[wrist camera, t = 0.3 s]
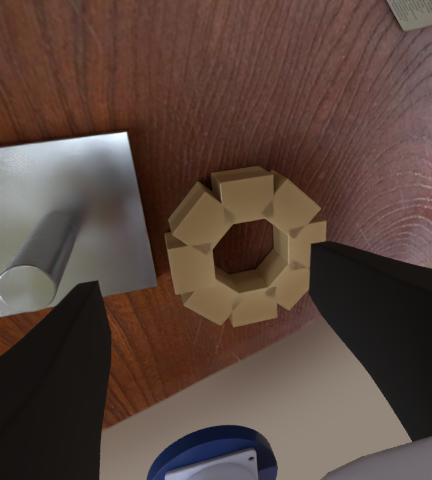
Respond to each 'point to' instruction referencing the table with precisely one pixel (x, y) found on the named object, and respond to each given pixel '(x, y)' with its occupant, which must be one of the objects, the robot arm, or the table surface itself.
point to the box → (412, 13)
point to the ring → (214, 228)
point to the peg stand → (70, 220)
